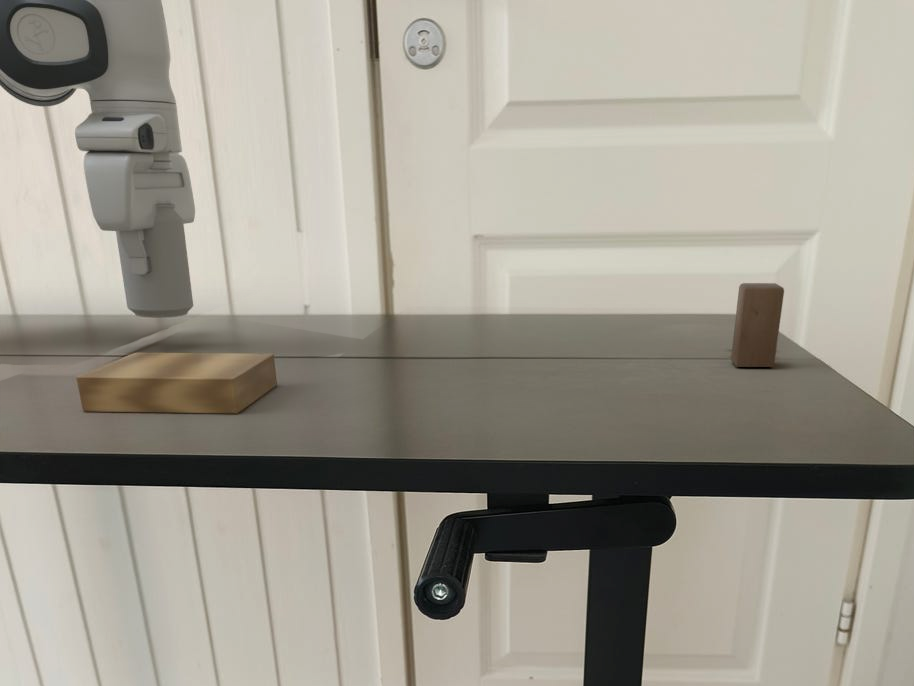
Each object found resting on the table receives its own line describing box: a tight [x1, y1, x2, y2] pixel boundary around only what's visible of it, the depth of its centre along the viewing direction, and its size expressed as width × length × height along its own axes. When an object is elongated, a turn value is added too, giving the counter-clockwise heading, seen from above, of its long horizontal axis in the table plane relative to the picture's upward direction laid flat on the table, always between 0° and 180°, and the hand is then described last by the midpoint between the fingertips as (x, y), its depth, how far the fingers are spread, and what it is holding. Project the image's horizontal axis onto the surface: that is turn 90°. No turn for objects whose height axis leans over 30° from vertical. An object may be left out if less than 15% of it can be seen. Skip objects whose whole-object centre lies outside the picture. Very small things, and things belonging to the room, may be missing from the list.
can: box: [115, 204, 194, 319], centre depth 106 cm, size 8×8×12 cm
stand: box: [76, 352, 278, 415], centre depth 84 cm, size 14×12×3 cm
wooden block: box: [730, 282, 785, 368], centre depth 95 cm, size 4×4×8 cm
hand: (157, 270), depth 106 cm, fingers closed on can, 7 cm apart
